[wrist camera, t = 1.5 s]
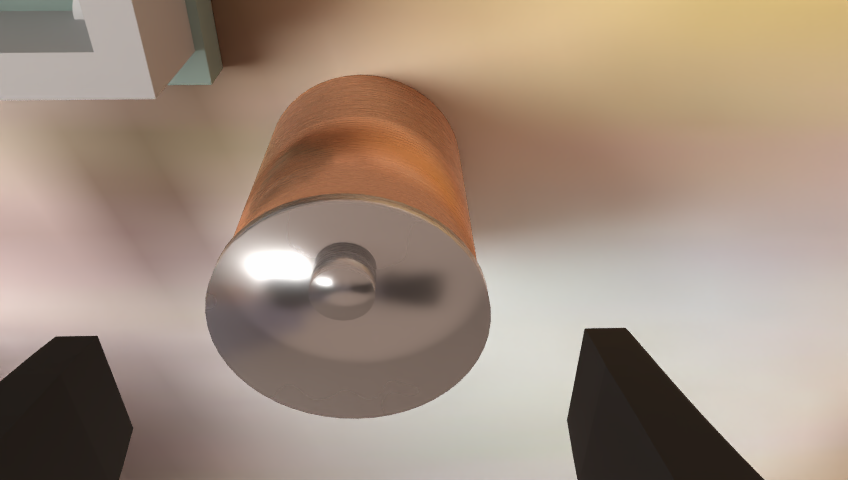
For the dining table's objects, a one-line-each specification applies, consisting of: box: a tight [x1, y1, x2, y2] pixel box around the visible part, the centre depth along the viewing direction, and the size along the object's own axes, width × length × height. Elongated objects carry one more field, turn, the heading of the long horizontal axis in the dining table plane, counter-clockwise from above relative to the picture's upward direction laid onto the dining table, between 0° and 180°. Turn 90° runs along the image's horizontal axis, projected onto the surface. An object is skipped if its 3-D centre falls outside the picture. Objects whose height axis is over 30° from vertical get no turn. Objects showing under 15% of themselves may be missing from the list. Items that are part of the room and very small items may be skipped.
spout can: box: [205, 75, 491, 419], centre depth 13 cm, size 5×5×6 cm
